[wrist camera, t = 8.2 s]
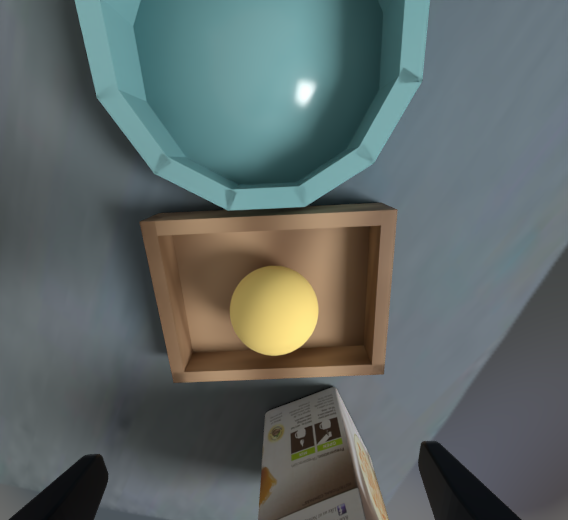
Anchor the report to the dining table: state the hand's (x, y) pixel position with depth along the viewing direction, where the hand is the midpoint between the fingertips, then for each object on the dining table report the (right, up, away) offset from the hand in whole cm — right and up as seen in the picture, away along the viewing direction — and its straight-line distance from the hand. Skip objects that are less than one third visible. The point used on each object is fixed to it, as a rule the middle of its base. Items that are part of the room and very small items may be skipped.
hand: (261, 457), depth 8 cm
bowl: (-1, +16, +7) cm, 17 cm away
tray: (0, +4, +11) cm, 12 cm away
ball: (0, +3, +8) cm, 9 cm away
